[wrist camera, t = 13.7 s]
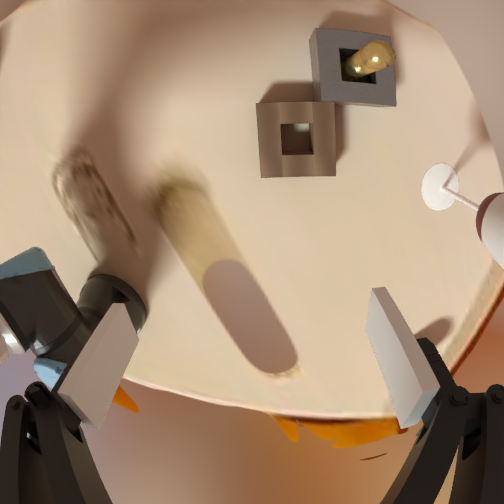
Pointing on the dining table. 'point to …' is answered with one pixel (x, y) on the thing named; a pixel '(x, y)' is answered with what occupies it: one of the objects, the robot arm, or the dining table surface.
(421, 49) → the dining table surface
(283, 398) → the dining table surface
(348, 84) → the socket
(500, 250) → the wineglass
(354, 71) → the pin
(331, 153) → the mount
